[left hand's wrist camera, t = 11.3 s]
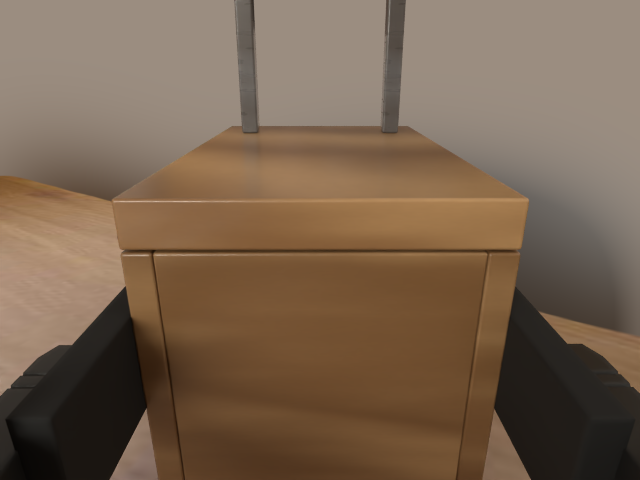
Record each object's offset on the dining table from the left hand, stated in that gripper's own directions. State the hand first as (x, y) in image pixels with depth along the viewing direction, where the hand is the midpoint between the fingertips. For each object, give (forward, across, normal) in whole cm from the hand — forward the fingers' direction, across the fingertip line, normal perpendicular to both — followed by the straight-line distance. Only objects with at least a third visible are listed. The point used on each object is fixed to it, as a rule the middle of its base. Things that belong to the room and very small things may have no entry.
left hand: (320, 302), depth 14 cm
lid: (+4, 0, +3) cm, 5 cm away
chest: (+3, 0, -6) cm, 7 cm away
